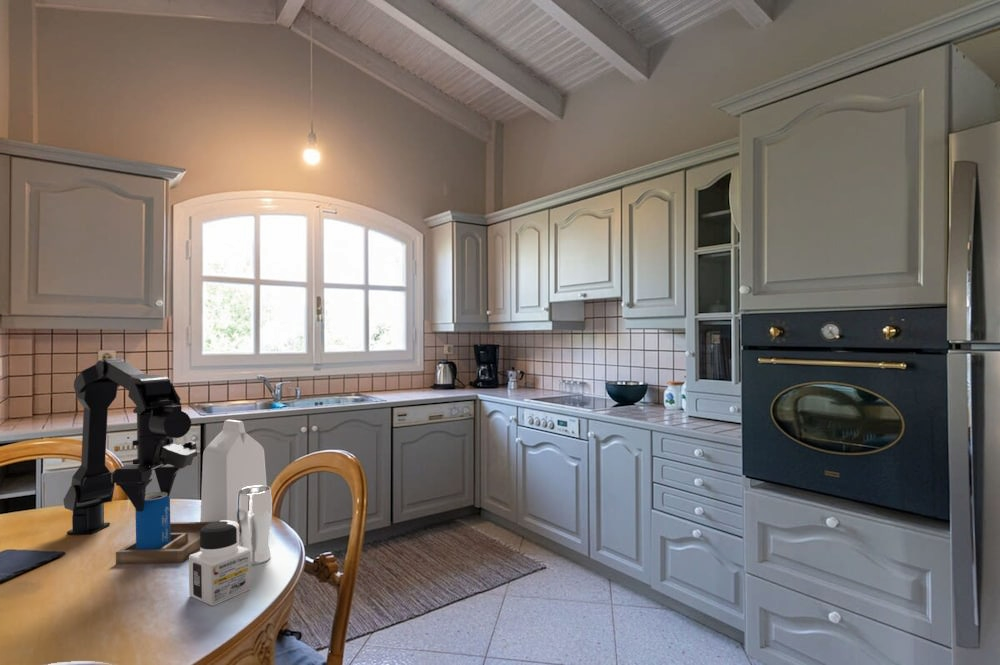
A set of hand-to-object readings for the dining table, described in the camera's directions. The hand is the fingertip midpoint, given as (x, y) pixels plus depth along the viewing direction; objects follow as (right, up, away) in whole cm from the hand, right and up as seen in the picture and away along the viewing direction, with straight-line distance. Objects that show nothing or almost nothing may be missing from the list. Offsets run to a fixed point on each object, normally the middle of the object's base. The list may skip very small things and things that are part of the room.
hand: (153, 504), depth 121 cm
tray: (+2, -11, +4) cm, 12 cm away
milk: (+8, -11, +21) cm, 25 cm away
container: (+24, -11, -19) cm, 33 cm away
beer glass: (+24, -11, -4) cm, 27 cm away
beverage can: (0, -10, 0) cm, 10 cm away
